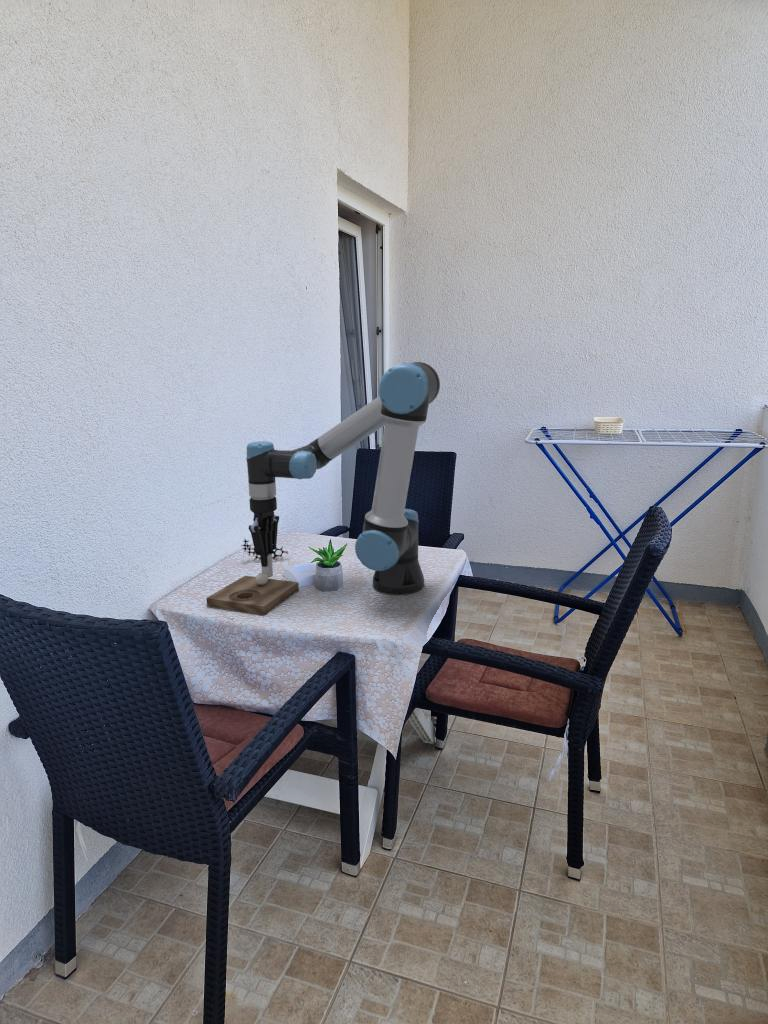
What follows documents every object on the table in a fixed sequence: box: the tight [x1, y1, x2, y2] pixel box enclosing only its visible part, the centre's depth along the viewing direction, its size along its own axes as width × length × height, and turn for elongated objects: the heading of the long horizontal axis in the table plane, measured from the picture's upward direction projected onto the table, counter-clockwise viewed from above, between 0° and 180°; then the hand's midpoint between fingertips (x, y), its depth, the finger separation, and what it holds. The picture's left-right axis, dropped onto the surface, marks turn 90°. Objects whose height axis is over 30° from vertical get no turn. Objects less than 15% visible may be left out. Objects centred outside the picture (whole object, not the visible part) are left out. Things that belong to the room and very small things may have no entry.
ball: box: [255, 572, 269, 585], centre depth 186 cm, size 4×4×4 cm
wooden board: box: [206, 575, 300, 616], centre depth 183 cm, size 18×19×2 cm
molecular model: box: [240, 538, 289, 561], centre depth 215 cm, size 6×15×8 cm, turn 104°
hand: (267, 575), depth 189 cm, fingers closed
